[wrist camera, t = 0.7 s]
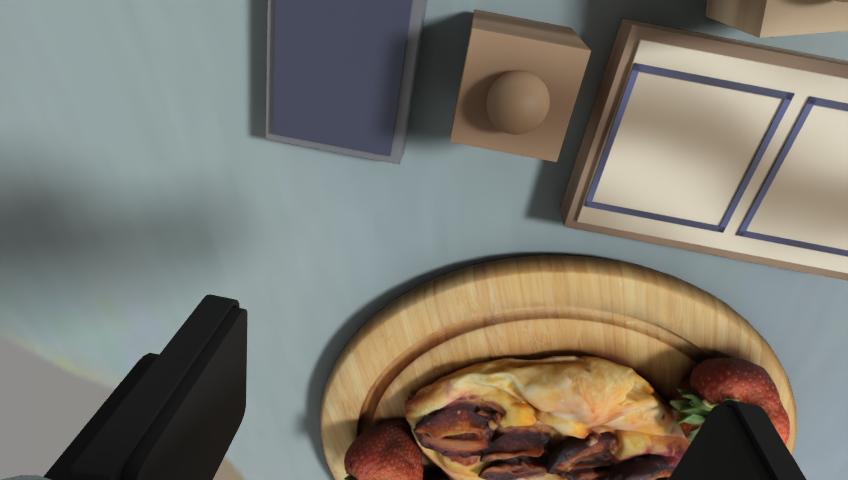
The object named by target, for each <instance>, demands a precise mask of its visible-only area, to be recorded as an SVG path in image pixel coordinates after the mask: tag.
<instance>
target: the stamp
mask: <svg viewBox="0 0 848 480" xmlns="http://www.w3.org/2000/svg"><path fill="white" fill-rule="evenodd" d="M590 53H591V50H590V49H589V48H588V46H587V45H586V44H585V43H584V42H583V41H582V40H581V39H580V38H579V36H578V35H577V34H576V33H575V32H574V31H573V30H572V29H571V28H570V27H565V26H559V25H554V24H549V23H544V22H538V21H533V20H528V19H522V18H517V17H512V16H507V15H501V14H496V13H491V12H486V11H480V10H475V9H474V14H473V19H472V24H471V29H470V34H469V39H468V45H467V50H466V55H465V60H464V65H463V70H462V75H461V80H460V85H459V90H458V96H457V101H456V106H455V112H454V119H453V125H452V132H451V138H450V142H453V143H458V144H464V145H469V146H474V147H479V148H485V149H490V150H495V151H500V152H506V153H511V154H516V155H521V156H527V157H532V158H537V159H543V160H548V161H553V162H557V160H558V157H559V153H560V150H561V147H562V144H563V141H564V137H565V134H566V131H567V128H568V124H569V121H570V118H571V115H572V111H573V108H574V105H575V102H576V99H577V95H578V92H579V89H580V86H581V82H582V79H583V76H584V73H585V69H586V66H587V63H588V60H589V57H590Z"/></svg>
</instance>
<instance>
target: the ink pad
mask: <svg viewBox="0 0 848 480" xmlns="http://www.w3.org/2000/svg"><path fill="white" fill-rule="evenodd" d="M426 3H427V0H268V13H267V83H266V139H269V140H274V141H279V142H284V143H289V144H295V145H300V146H305V147H310V148H316V149H321V150H326V151H331V152H337V153H342V154H347V155H352V156H357V157H363V158H368V159H373V160H378V161H384V162H389V163H394V164H399V165H400V162H401V159H402V156H403V154H404V147H405V141H406V134H407V128H408V121H409V114H410V108H411V101H412V95H413V88H414V82H415V75H416V69H417V62H418V56H419V49H420V43H421V36H422V30H423V23H424V16H425V10H426Z"/></svg>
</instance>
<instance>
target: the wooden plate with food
mask: <svg viewBox="0 0 848 480" xmlns="http://www.w3.org/2000/svg"><path fill="white" fill-rule="evenodd" d="M726 400H734V401H739V402H744V403H749V404H754V405H758V406H760V407H762V408H763V409H764V411H765V412H766V413H767V415H768V417H769V418H770V420H771V422H772V423H773V425H774V427H775V428H776V430H777V432H778V433H779V435H780V437H781V438H782V440H783V442H784V443H785V445H786V447H787V448H788V450H789V452H790V453H791V455H792V454H793V450H794V446H795V439H796V432H797V422H796V406H795V402H794V397H793V393H792V389H791V386H790V382H789V379H788V377H787V375H786V373H785V371H784V369H783V367H782V365H781V363H780V361H779V359H778V358H777V356H776V355H775V353H774V352H773V350H772V349H771V347H770V346H769V344H768V343H767V341H766V340H765V339H764V338H763V337H762V336H761V335H760V334H759V333H758V332H757V331H756V330H755V329H754V328H753V327H752V325H751V324H750V323H749V322H748V321H747V320H746V319H744V318H743V317H742V316H741V315H740V314H738V313H737V312H736V311H735V310H733V309H732V308H731V307H730V306H729V305H727V304H726V303H724V302H723V301H721V300H720V299H718V298H717V297H715V296H713V295H712V294H710V293H708V292H706V291H704V290H702V289H700V288H698V287H696V286H694V285H692V284H690V283H688V282H685V281H683V280H681V279H679V278H677V277H674V276H671V275H669V274H666V273H663V272H660V271H657V270H654V269H651V268H647V267H644V266H641V265H637V264H633V263H628V262H623V261H617V260H612V259H606V258H597V257H585V256H565V255H539V256H526V257H516V258H507V259H501V260H495V261H490V262H485V263H480V264H477V265H473V266H469V267H465V268H462V269H459V270H456V271H453V272H451V273H448V274H445V275H442V276H440V277H437V278H435V279H433V280H430V281H428V282H426V283H424V284H422V285H420V286H418V287H416V288H414V289H412V290H411V291H409V292H407V293H405V294H404V295H402V296H400V297H399V298H397V299H395V300H394V301H392V302H390V303H389V304H388V305H386V306H385V307H384V308H382V309H381V310H380V311H378V312H377V313H376V314H374V315H373V316H372V317H371V318H370V319H369V320H367V321H366V322H365V323H364V324H363V325H362V326H361V327H360V329H359V330H358V331H357V332H356V333H355V334H354V335H353V336H352V338H351V339H350V340H349V342H348V343H347V345H346V346H345V347H344V349H343V350H342V352H341V353H340V355H339V356H338V358H337V360H336V362H335V364H334V366H333V368H332V370H331V372H330V374H329V377H328V380H327V383H326V385H325V388H324V391H323V395H322V400H321V410H320V432H321V439H322V446H323V450H324V455H325V458H326V461H327V464H328V466H329V469H330V471H331V473H332V475H333V477H334V479H335V480H668V479H669V477H670V476H671V474H672V472H673V471H674V469H675V468H676V466H677V464H678V463H679V461H680V460H681V458H682V456H683V455H684V453H685V452H686V450H687V448H688V447H689V445H690V443H691V442H692V440H693V439H694V437H695V435H696V434H697V432H698V431H699V429H700V427H701V426H702V424H703V423H704V421H705V419H706V418H707V416H708V414H709V413H710V411H711V410H712V408H713V407H714V406H716V405H721V404H722V403H723V402H724V401H726Z"/></svg>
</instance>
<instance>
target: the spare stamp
mask: <svg viewBox="0 0 848 480" xmlns="http://www.w3.org/2000/svg"><path fill="white" fill-rule="evenodd" d="M706 17H708V18H711V19H713V20H716V21H718V22H721V23H724V24H726V25H729V26H731V27H734V28H736V29H739V30H741V31H744V32H746V33H749V34H751V35H754V36H756V37H759V38H764V37H776V36H788V35H801V34H813V33H825V32H837V31H848V0H707V6H706Z"/></svg>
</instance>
